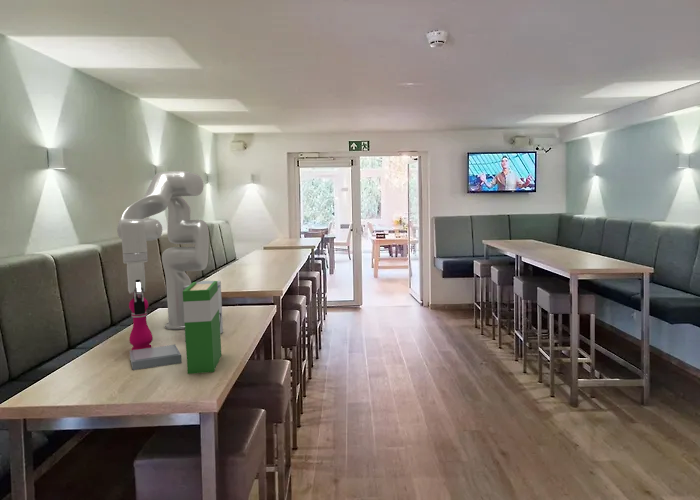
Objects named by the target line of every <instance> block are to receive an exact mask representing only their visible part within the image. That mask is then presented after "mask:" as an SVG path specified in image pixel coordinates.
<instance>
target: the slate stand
mask: <svg viewBox="0 0 700 500" xmlns="http://www.w3.org/2000/svg"><path fill="white" fill-rule="evenodd" d="M129 359H130V363H131V370H133V371H135V370H136V371H137V370H141V369H142V370H143V369H150V368H157V367H161V366H162V367H163V366H169V365H175V364H176V365H177V364H182V363H183V362H182V354H181V352H180V350H179V349H178V346H177V345H176V344H168V345H167V344H166V345H159V346H154V347H153V346H152V348H145V349H138V350H132V349H131V350H129Z"/></svg>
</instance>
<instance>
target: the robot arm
mask: <svg viewBox="0 0 700 500" xmlns="http://www.w3.org/2000/svg"><path fill="white" fill-rule="evenodd" d="M203 191H204V181H203V179H202V177H201V175H199V174H197V173H194V172H191V171H187V170H186V171H185V170H171V171H170V170H169V171H159V172H156V173H155V175H153V177H152V179H151V182H150V184H149V186H148V189H147V190H146V193H145V195H144V196H143V197H141V198H139V199H138V200H136V201H134V202H133V203H132V204H130V205H129V206H127V207H126V208H125V209H124V211H123V212H122V214H121V215H120V218H119V220H118V224H117V226H116V227H117V228H116V233H117V236H118V237H119V238H120V240H121V249H122V262H123V264H124V265H125V264H126V276H127V291H128V293H129V294H130V295H132V299H133V298H134V300H135V302H134V312H135V315H137V314H145V302H144V298H145V297H144V293H145V292H146V271H145V268H146V267H145V263H148V262H149V257H148V243H147V242H148V241H156V240H157V239H160V237H161V236H162V234H163V226H162V224H161V222H160V221H159V220H158V219H156V218H149V217H152V216H154V215H157V214H160V213H162V212H164V211H165V210H167V239H168V242H170V244H171V243H172V244H173V245H174V244H175V245H191V244H192V245H193V244H194V246H174V247H173V246H172V247H169V248H166V249H164V251H163V252H162V255H161V263H162V266H163V270H164V275H165V285H166V287H165V288H166V299H167V301H166V303H167V315H168V317H167V318H168V322H167V323H165V324H164V328H165V329H166V330H185V325H184V307H183V287H184V286H188V285H191V284H192V281H191V278H190V277H189V275H188V274H187V273H186V272H197V271H198V272H200V271H204V270H205V269H207V267H208V263H209V249H210V248H209V244H210V243H209V242H210V234H209V233H210V232H209V227H208V224H207V222H206V221H205V220H203V219H191V208H190V206H189V204H188V202H187V201H186V200H185V199H184V198H183V197H197V196H200V195H201V194H202V193H203Z"/></svg>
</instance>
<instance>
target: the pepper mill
mask: <svg viewBox="0 0 700 500" xmlns="http://www.w3.org/2000/svg"><path fill="white" fill-rule="evenodd" d="M143 298H144V302H145V314H137V315H135V312H134V302H135V300H134V298H133V297H132V298H131V300H130V301H129V302H128V307H129V310H130V311H131V313H130V314H131V315H130V316H131V318H132V322H133V325H132V329H131V332H130V335H129V340H128V341H129V343H130V345H132V347H131V350H138V349H145V348H152V347H153V346H152V345H151V342H153V334H152V331H151V330H150V327H149V326H148V322H147V316H148V311H147V310H148V308H149V301H148V300H147V299H146V297H143Z"/></svg>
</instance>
